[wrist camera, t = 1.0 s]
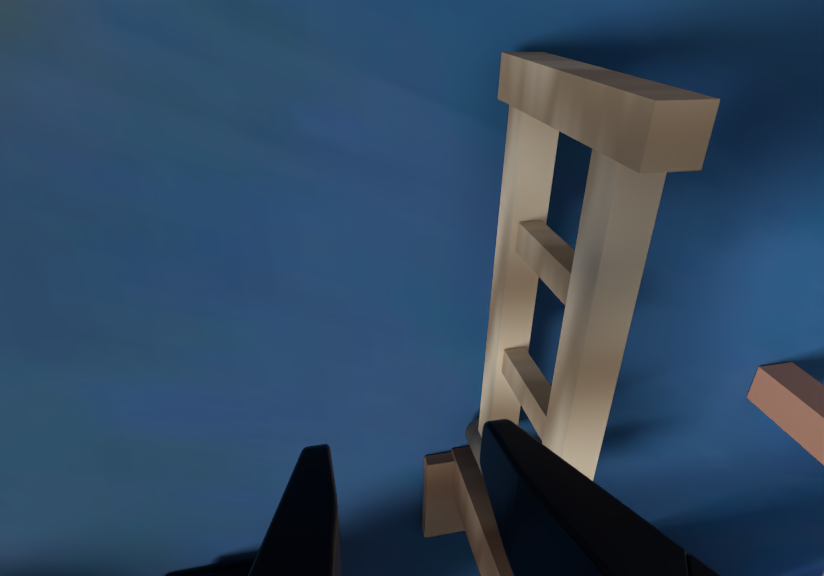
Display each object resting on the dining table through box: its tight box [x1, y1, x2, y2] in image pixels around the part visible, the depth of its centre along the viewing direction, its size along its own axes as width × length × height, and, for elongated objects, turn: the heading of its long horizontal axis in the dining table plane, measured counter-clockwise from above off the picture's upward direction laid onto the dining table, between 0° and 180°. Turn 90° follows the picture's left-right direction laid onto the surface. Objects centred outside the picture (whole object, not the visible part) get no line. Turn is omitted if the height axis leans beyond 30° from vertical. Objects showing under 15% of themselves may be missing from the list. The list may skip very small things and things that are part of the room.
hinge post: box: [422, 446, 514, 576], centre depth 24 cm, size 5×5×10 cm
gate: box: [465, 52, 720, 481], centre depth 18 cm, size 17×2×8 cm, turn 179°
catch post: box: [747, 362, 824, 465], centre depth 26 cm, size 2×2×6 cm
